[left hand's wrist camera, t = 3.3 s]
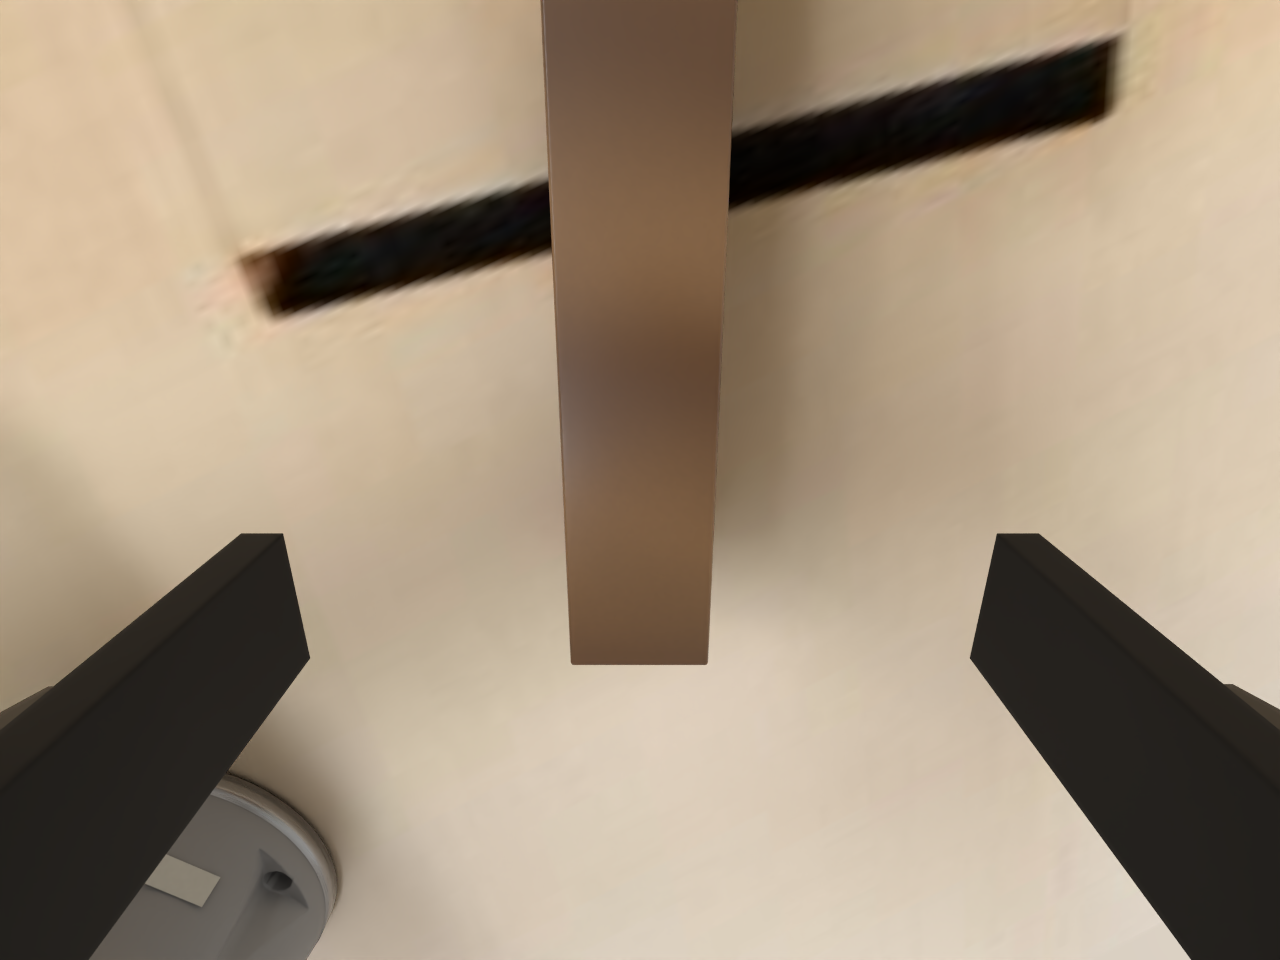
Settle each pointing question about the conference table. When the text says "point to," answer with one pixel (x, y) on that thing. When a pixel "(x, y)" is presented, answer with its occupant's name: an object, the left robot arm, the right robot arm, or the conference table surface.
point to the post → (639, 312)
